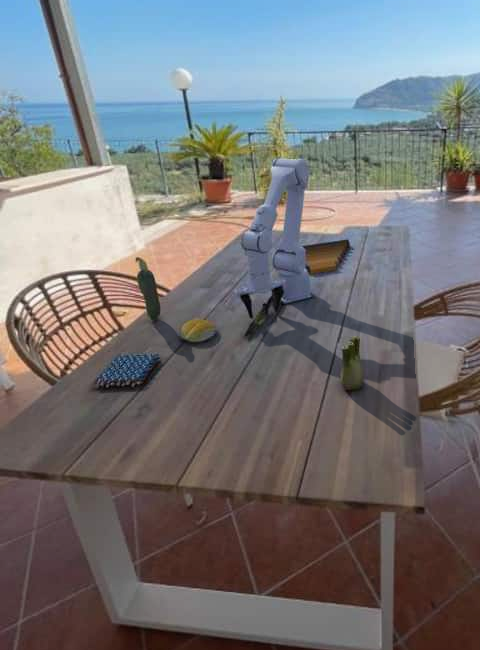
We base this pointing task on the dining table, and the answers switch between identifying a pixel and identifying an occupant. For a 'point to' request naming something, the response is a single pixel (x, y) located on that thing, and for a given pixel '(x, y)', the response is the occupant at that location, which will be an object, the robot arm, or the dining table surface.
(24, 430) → the dining table surface
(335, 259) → the pan flute
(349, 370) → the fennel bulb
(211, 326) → the bread roll
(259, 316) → the knife
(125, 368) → the woven mat
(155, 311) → the vegetable
